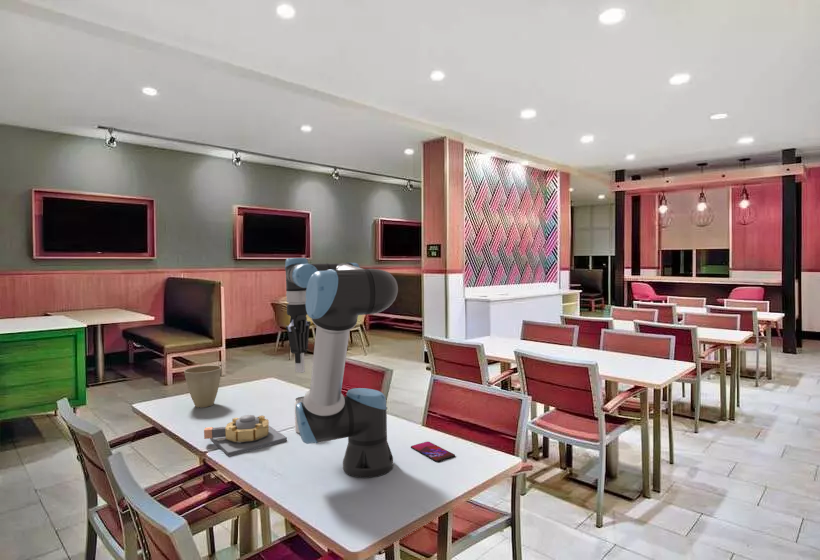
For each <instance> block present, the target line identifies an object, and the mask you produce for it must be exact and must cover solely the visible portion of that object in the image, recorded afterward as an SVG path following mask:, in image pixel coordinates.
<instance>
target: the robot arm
mask: <svg viewBox="0 0 820 560" xmlns="http://www.w3.org/2000/svg"><path fill="white" fill-rule="evenodd" d="M284 270H285V287H286V288H285V289H286V292H285V293H286V294H285V296H286V303H287V304H286V315H288V316H289V317H290V318H289V324H288V325H286V326H285V329H286V332H287V337H288V342H289V348H290V353H291V354H294V364H295V367H294V368H295V369H294V371H295V373H305V369H306V368H305V366H306V365H305V353H308V347H309V336H310V326H311V321H312V323H313V325H315V326H316V327H315V328H316V330H315V339H314V347H313V356H312V367H311V369H312V370H311V377H310V386H309V387H310V388H309V390H308V391H307V392H306V393H305V395H304V399H303V402H300V403H298V404H296V417H297V423H298V428H299V432H300V434H299V435H300V438H301V441H302V442H303V443H304V444H306V445H309V444H311V445H313V444H319V443H324V442H331V441H335V440H340V439H346V438H347V445H346V450H345V453H344V456H343V459H342V469H343V472H344V473H345V474H346V475H348V476H351V477H355V478H364V479H365V478H368V479H369V478H376V477H380V476H383V475H386V474H388V473H389V472H391V471H392V470H393V468H394V456H393V453H392V451H391V449H390V445H389V442H388V428H387V427H388V426H387V425H388V422H387V417H388V416H387V410H388V407H387V398H386V395H385V394H384V393H383V392H382V391H380V390H377V389H372V388H367V387H366V388H365V387H364V388H363V387H362V388H361V387H358V388H357V387H356V388H355V387H354V388H351V389H348V390H346V391H347V392H346V396H345V395H344V394H343V393H342V388H343V380H344V373H345V367H346V360H347V352H348V346H349V339H350V332H351V330H352V329H353V328H355V326H356V325H357V323H358V319H359V318H358V317H359V316H365V315H366V316H367V315H375V314H379V313H382V312H384V311H385V310H387V309H388V308H390V306H392V305H393V303H394V302H395V301H396V298H397V296H398V292H399V287H398V281H397V280H396V278H395V277H394V276H393V274H391V273H390V272H388V271H386V270H383V269H377V268H362V267H360V265H359V263H357V262H348V261H347V262H333V263H332V262H331V263H327V262H326V263H324V262H322V263H321V262H320V263H309V261H308V259H307V258H306V257H290V258H286V259H285V266H284ZM307 316H308V317H309V318H311V321H309V320H307V319H308V318H307Z"/></svg>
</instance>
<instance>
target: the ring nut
mask: <svg viewBox="0 0 820 560" xmlns="http://www.w3.org/2000/svg"><path fill="white" fill-rule="evenodd" d="M257 417H258V418H259V423H258V424H255V428H253V429H243V430H239V429H237V426H236V420H237V419H240V417H233V418H232V420H231V422H228V423H227V424H226V425H225V426H220V427H219V426H217V427H212V426H210V427H205V428H204V430H203V439H204V440H207V439H210V438H217V437H226V439H227V440H230V441H234V442H237V441H238V442H245V441H254V440H257V439H260V438H262V437H265V436H267V435H268V433H269V426H270V421H269V419H267V418H266V417H265V416H264V415H259V416H257Z"/></svg>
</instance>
